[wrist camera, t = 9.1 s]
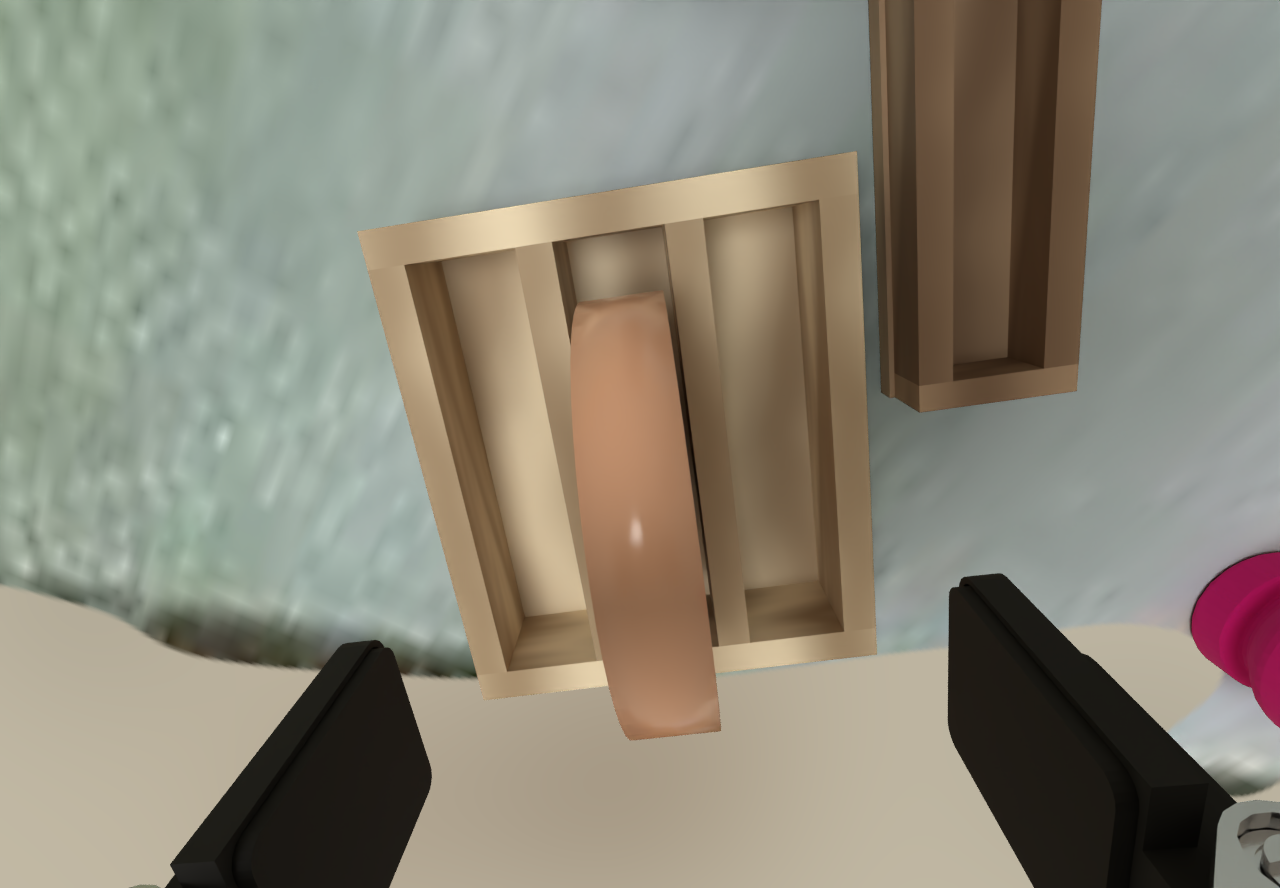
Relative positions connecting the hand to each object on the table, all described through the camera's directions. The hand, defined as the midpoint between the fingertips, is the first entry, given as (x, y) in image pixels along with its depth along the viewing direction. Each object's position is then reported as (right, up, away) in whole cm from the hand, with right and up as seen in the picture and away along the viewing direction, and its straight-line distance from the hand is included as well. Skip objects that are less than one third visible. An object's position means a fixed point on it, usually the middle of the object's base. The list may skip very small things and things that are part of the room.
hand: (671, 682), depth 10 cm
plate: (0, +5, +15) cm, 16 cm away
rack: (0, +5, +16) cm, 17 cm away
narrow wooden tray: (+11, +14, +13) cm, 22 cm away
